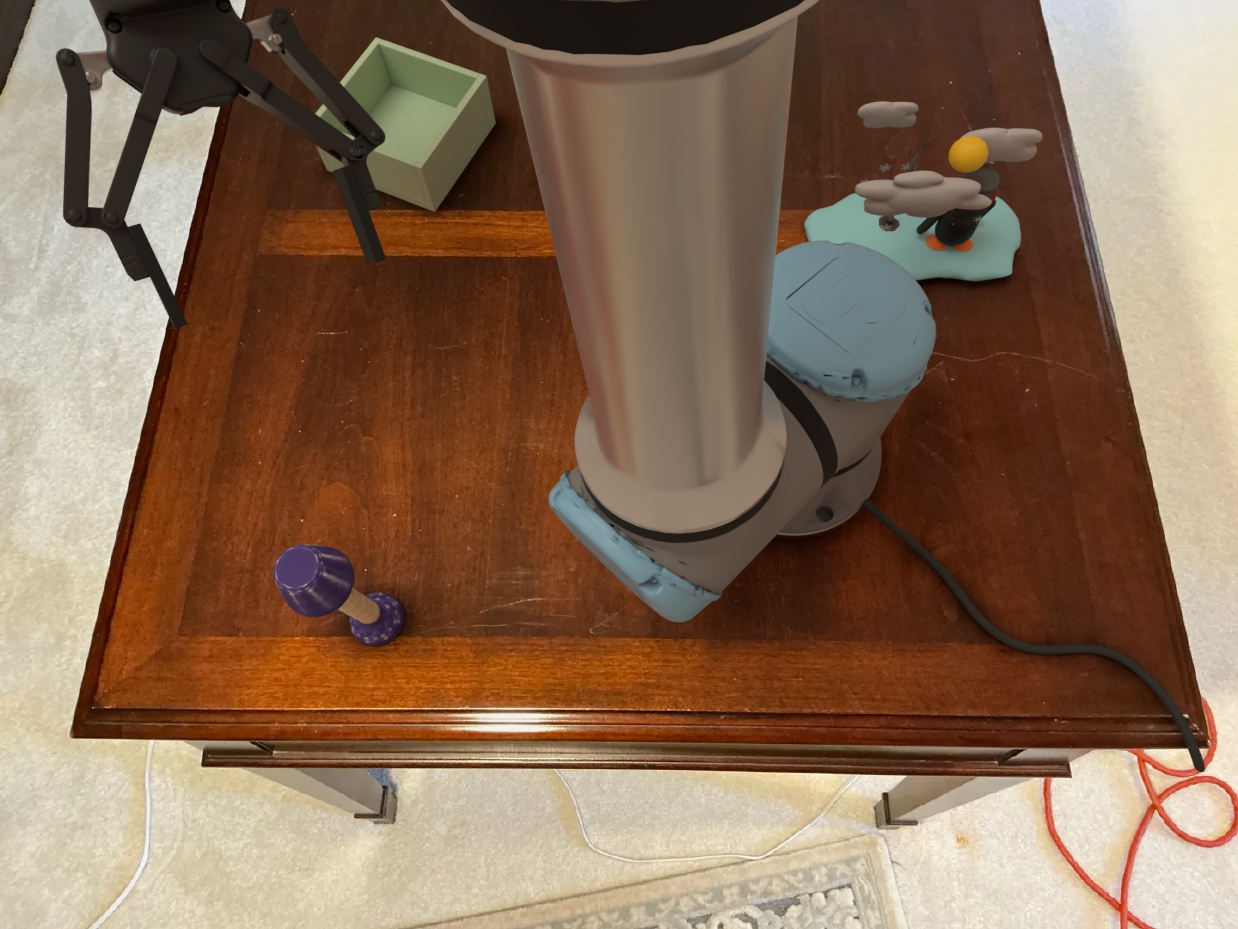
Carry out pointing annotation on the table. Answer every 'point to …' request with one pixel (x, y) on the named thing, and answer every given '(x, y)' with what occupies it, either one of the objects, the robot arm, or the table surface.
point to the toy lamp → (335, 592)
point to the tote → (416, 120)
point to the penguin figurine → (934, 206)
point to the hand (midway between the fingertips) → (283, 292)
